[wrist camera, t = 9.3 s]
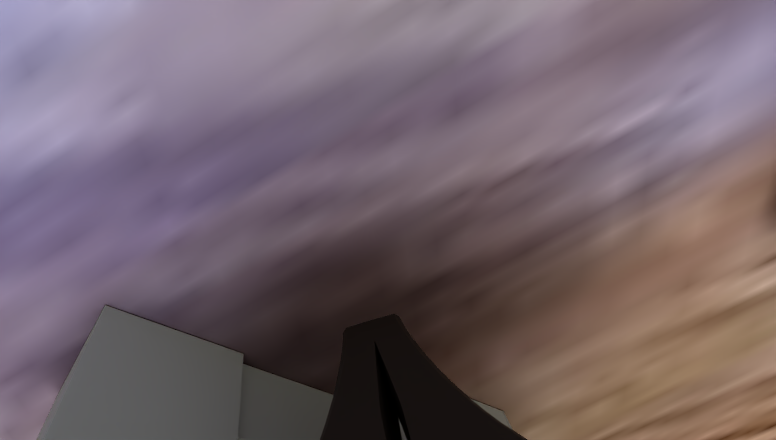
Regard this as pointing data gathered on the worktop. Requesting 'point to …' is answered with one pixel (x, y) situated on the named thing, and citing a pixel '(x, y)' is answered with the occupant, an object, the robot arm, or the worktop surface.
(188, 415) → the link
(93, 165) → the worktop surface
